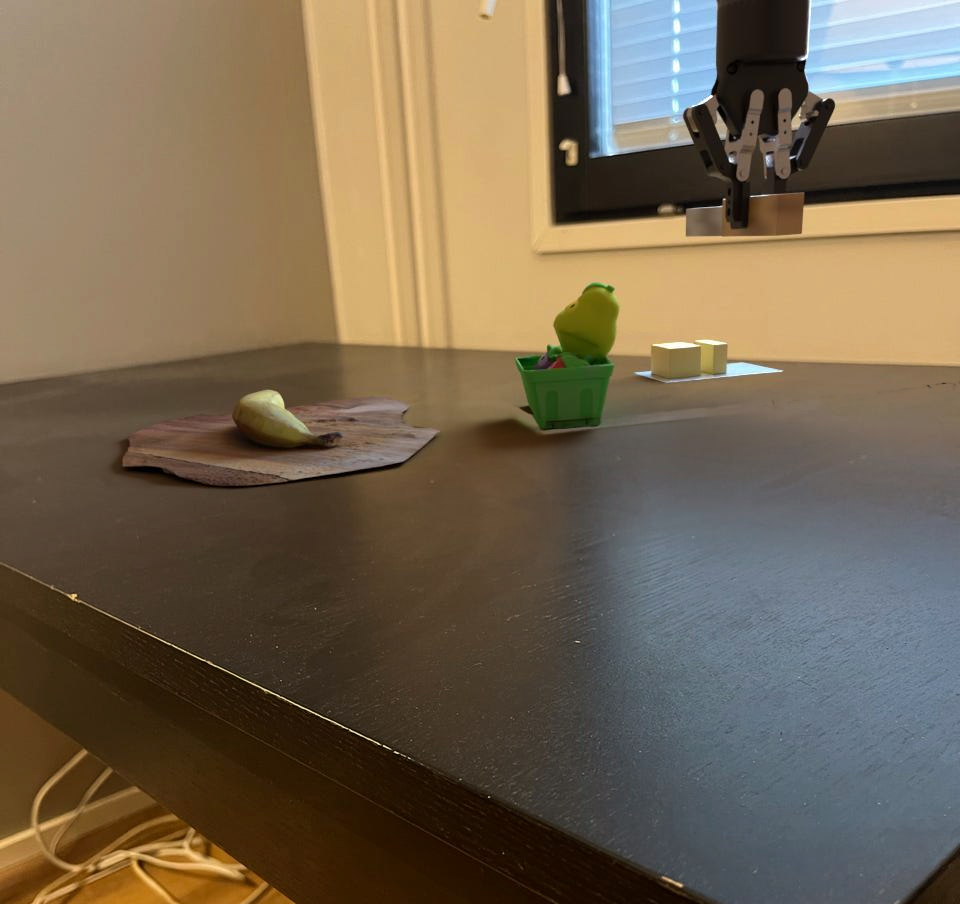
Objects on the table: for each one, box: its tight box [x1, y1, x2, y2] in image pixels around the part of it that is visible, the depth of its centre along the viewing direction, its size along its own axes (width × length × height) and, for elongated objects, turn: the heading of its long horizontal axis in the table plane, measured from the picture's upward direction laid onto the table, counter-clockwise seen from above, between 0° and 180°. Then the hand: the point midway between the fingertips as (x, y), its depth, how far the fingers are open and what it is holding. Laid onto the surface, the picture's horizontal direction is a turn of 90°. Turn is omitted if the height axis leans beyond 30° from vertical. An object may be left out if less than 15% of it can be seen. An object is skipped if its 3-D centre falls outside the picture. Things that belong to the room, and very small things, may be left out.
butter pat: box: [693, 339, 729, 374], centre depth 104 cm, size 2×5×3 cm, turn 13°
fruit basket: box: [514, 281, 621, 430], centre depth 85 cm, size 11×9×11 cm
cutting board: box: [122, 389, 442, 487], centre depth 86 cm, size 35×27×4 cm
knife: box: [685, 192, 805, 238], centre depth 91 cm, size 20×2×3 cm, turn 14°
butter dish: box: [633, 361, 783, 384], centre depth 104 cm, size 13×9×1 cm
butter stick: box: [650, 341, 701, 379], centre depth 103 cm, size 4×5×3 cm
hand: (754, 226), depth 88 cm, fingers closed on knife, 2 cm apart
